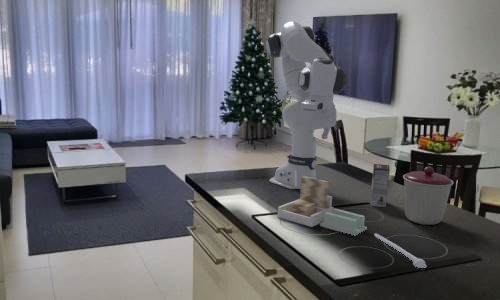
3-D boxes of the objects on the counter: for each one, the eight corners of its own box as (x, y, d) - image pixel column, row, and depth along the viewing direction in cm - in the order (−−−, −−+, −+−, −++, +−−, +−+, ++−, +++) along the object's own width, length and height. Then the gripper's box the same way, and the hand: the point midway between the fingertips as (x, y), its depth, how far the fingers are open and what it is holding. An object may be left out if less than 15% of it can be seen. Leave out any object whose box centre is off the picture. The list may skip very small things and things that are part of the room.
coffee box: (369, 199, 219) (373, 163, 216) (385, 201, 218) (388, 164, 215) (370, 205, 210) (374, 168, 207) (386, 207, 209) (390, 169, 206)
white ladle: (366, 236, 175) (367, 229, 175) (376, 235, 177) (377, 228, 176) (416, 271, 150) (418, 262, 149) (428, 269, 151) (429, 260, 150)
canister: (388, 215, 199) (394, 162, 195) (424, 211, 206) (430, 160, 202) (420, 231, 183) (427, 174, 179) (458, 226, 190) (466, 171, 186)
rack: (277, 217, 190) (278, 196, 189) (299, 208, 202) (300, 188, 200) (311, 227, 181) (313, 205, 180) (332, 217, 193) (334, 197, 191)
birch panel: (298, 211, 198) (301, 176, 195) (301, 210, 200) (303, 175, 197) (323, 218, 192) (326, 182, 189) (326, 217, 193) (328, 181, 190)
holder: (320, 226, 183) (321, 212, 182) (332, 220, 190) (333, 207, 189) (355, 236, 174) (356, 222, 173) (367, 229, 181) (368, 216, 180)
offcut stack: (290, 218, 190) (291, 202, 189) (299, 214, 195) (300, 199, 193) (306, 223, 186) (307, 207, 184) (315, 219, 190) (316, 203, 189)
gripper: (327, 100, 197) (324, 136, 200) (298, 103, 181) (296, 142, 184) (341, 102, 193) (339, 138, 196) (313, 105, 177) (311, 144, 180)
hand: (318, 140), depth 190 cm, fingers open, 8 cm apart
